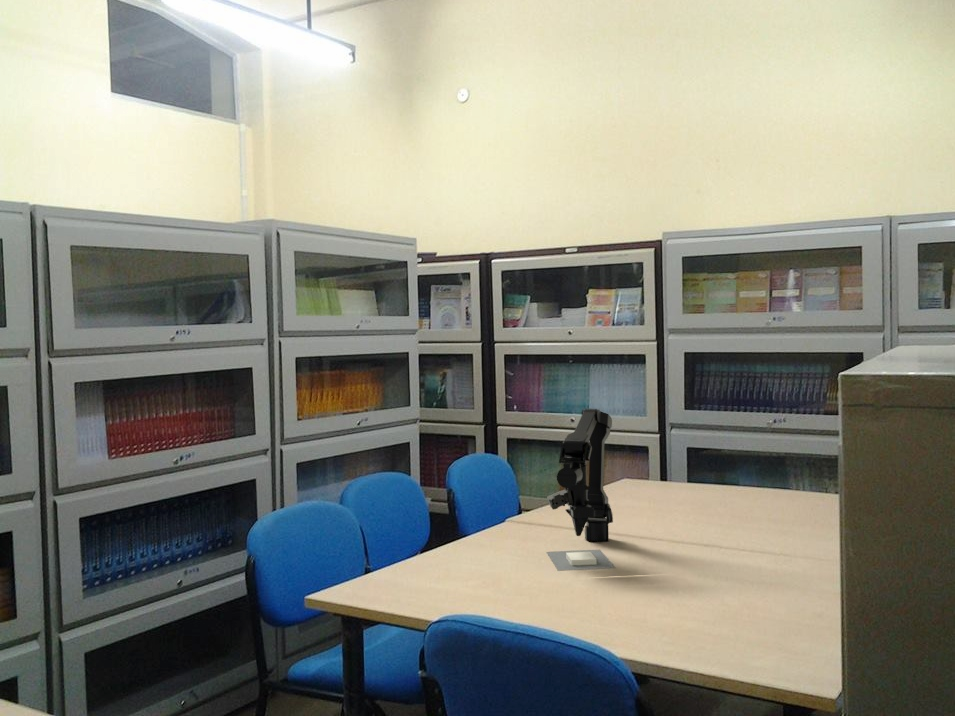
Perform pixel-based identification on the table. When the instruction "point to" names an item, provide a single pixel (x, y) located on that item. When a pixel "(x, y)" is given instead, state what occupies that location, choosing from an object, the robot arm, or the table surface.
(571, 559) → the tile
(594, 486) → the robot arm
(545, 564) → the table surface
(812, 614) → the table surface
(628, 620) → the table surface
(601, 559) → the mat
